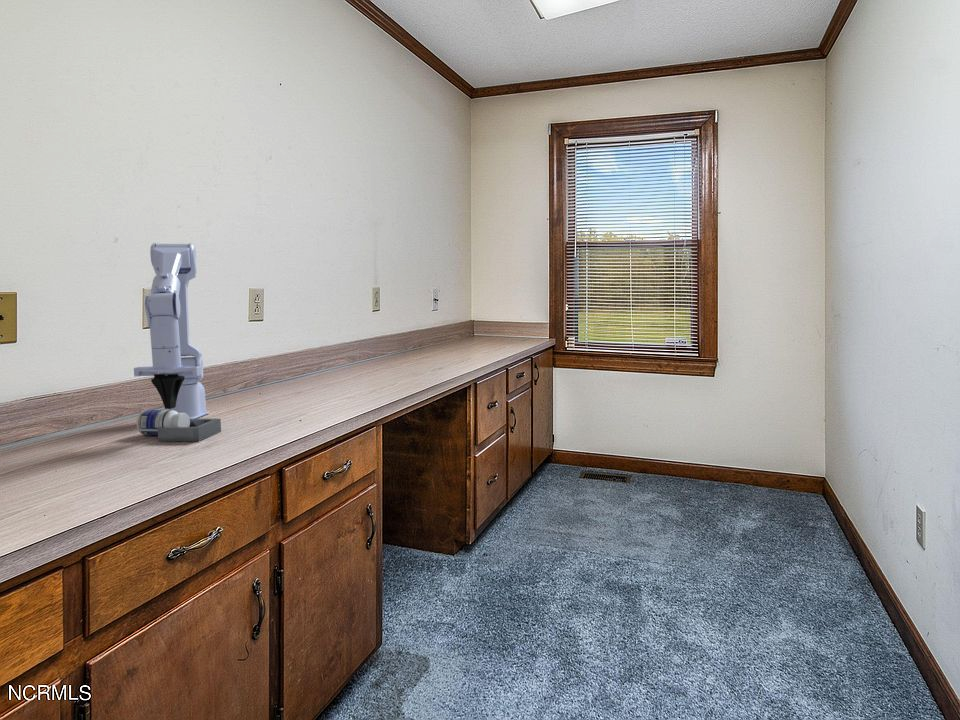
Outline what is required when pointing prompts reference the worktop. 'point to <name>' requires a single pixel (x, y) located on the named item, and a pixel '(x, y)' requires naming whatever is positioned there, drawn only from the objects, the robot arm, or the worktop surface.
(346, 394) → the worktop surface
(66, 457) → the worktop surface
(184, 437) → the metal u-channel bracket
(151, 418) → the pill bottle
